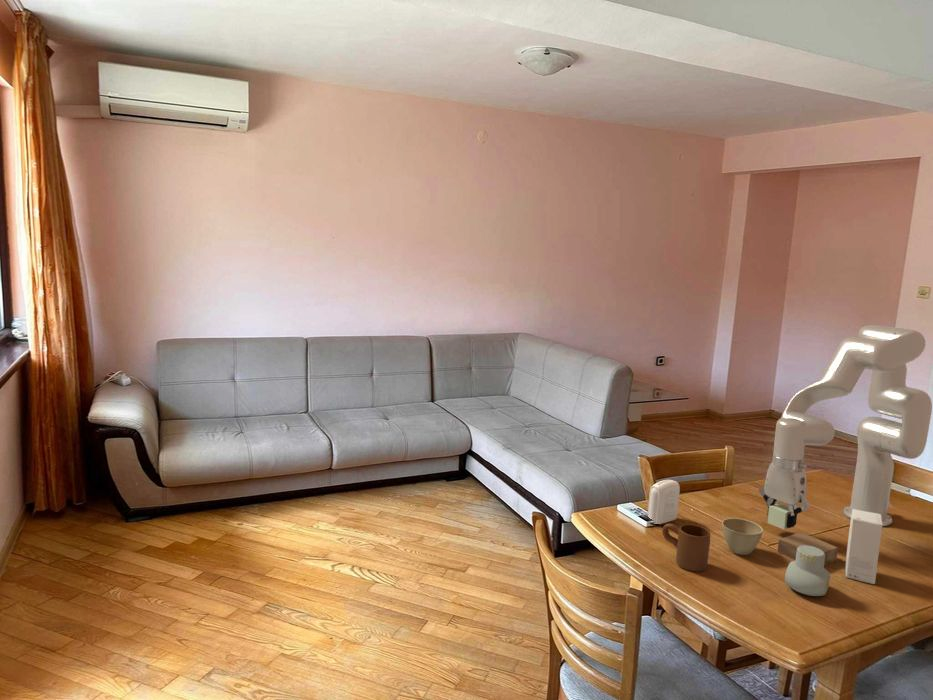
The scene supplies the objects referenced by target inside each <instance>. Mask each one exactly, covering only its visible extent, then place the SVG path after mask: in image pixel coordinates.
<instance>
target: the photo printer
mask: <svg viewBox="0 0 933 700" xmlns="http://www.w3.org/2000/svg"><path fill="white" fill-rule="evenodd" d="M680 490H681V487H680V484H679V482H678V481H676V480H672V479H664V480H661V481H657V482H656V483H655V484H653V485H652V486H650V488H649V494H648V495H649V496H648V505H647V515H646V517H647V516H648V517H649V518H650V519H652V520H654V521H656V523H657V524H659V525H663V524H667V523H669V522H672V521H675V520H677V519H678V510H679V500H680V492H681V491H680Z"/></svg>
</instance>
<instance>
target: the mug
mask: <svg viewBox="0 0 933 700" xmlns="http://www.w3.org/2000/svg"><path fill="white" fill-rule="evenodd" d="M669 530H670V531H672V532H673V533H675V534H676V535H677V538H676V537H674V536H672V535H670V533H669ZM661 532H662V535H663V538H664V539H665V541H667V542H668V543H669V544H672V545H673V546H674V547H675V548H676V557H675V561H676V564H677V565H678V566H679V567H680V568H681V569H683V568H684V569H683V570H686V571H689V570H690V571H689V572H694V571H696V572H698V573H699V571H700V572H703V571H705V570H706V569H707V568H708V563H709V557H710V555H709V554H710V545H711V532H710V530H709V529H707V528H705V527H703V526H701V525H697V524H693V523H692V524H690V523H688V524H682V525H680V527H678V526H676V525H675V524H673V523H665V524H664V526H663V527H662V531H661Z"/></svg>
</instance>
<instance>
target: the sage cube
mask: <svg viewBox="0 0 933 700" xmlns="http://www.w3.org/2000/svg"><path fill="white" fill-rule="evenodd" d="M767 513H768V515H767V524H769V525H771V526H775V527H777V528H779V529H781V530H787V529H788V528H787V527H786V526H787V517H788V514H790V512H789V506H788V504H787V505H786V504H784V503H783V502H778V503H777V502H776V504H774V505H772V506H769V512H768V511H767Z"/></svg>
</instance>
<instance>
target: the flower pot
mask: <svg viewBox="0 0 933 700" xmlns="http://www.w3.org/2000/svg"><path fill="white" fill-rule="evenodd" d="M721 527H722V533H723V534H722V535H723V537H724V540H725V543H726V546H727V548H728V549H729V551H730V552H731V553H733V554H736V555H738V556H739V555H740V556H748V555H750V554H751V553H752V552H753V551H754V550H755V548H756V547H757V545H758V544H759V542H760V540H761V538H762V535H763V531H764V529H763V527H762V526H761V525H759V524H758V523H756V522H755V521H751V520H748V519H744V518H736V517H734V518H733V517H729V518H724V519H723V520H722V521H721Z"/></svg>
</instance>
